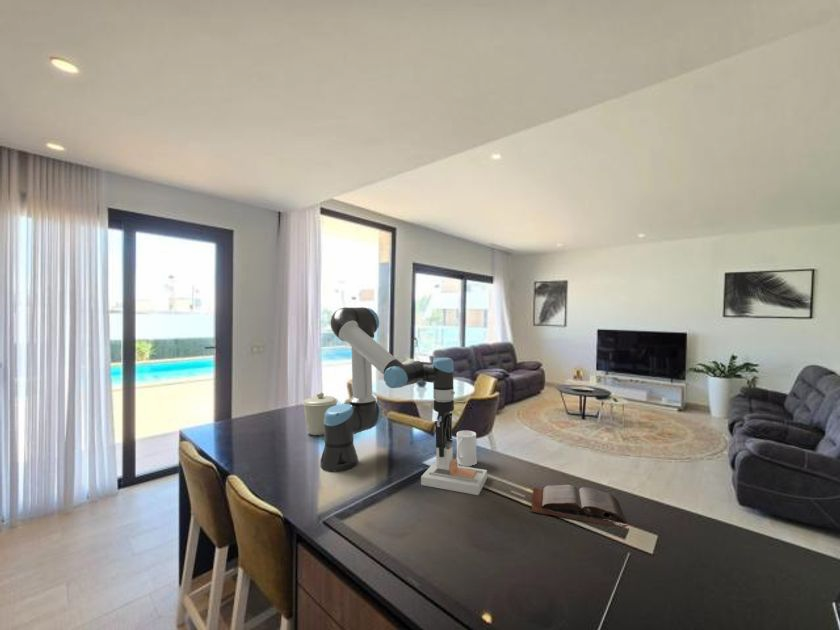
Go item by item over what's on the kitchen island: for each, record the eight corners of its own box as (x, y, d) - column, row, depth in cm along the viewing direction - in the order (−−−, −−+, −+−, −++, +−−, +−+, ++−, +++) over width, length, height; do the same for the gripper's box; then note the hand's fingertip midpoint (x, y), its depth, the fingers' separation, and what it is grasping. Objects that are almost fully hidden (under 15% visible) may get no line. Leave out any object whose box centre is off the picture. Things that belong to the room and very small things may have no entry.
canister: (333, 438, 184) (333, 396, 184) (297, 438, 184) (297, 396, 184) (341, 427, 202) (341, 388, 202) (308, 427, 202) (308, 388, 202)
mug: (465, 471, 145) (464, 440, 144) (447, 465, 150) (447, 436, 150) (480, 461, 154) (480, 432, 153) (463, 456, 159) (463, 428, 159)
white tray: (421, 484, 133) (421, 474, 133) (434, 469, 146) (434, 460, 146) (478, 495, 125) (478, 484, 125) (487, 478, 138) (487, 468, 138)
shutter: (449, 476, 133) (449, 464, 133) (455, 469, 139) (455, 457, 139) (471, 480, 130) (471, 468, 130) (476, 472, 136) (476, 461, 136)
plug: (436, 468, 136) (436, 438, 136) (440, 463, 140) (439, 434, 140) (449, 470, 134) (449, 439, 134) (452, 465, 138) (452, 436, 138)
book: (633, 533, 105) (633, 517, 105) (530, 513, 114) (531, 498, 114) (621, 503, 123) (621, 489, 124) (533, 488, 133) (533, 476, 133)
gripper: (446, 405, 128) (447, 473, 128) (459, 395, 144) (460, 455, 144) (425, 404, 131) (426, 470, 131) (441, 394, 146) (442, 453, 146)
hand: (444, 462), depth 137 cm, fingers closed on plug, 4 cm apart
